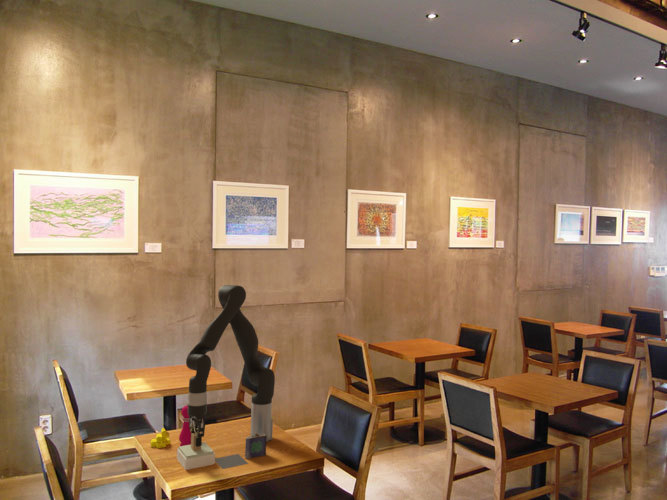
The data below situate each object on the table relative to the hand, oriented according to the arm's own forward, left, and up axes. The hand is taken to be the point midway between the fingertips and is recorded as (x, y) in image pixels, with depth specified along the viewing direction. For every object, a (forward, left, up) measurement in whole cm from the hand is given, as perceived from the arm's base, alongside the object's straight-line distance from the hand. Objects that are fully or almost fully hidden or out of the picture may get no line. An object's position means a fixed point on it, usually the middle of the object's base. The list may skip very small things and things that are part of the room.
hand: (196, 443), depth 209 cm
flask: (-23, +7, -8) cm, 26 cm away
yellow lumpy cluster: (+8, -25, -8) cm, 27 cm away
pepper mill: (-1, -16, -8) cm, 18 cm away
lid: (0, 0, -3) cm, 3 cm away
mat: (-12, +7, -8) cm, 16 cm away
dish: (0, 0, -8) cm, 8 cm away
